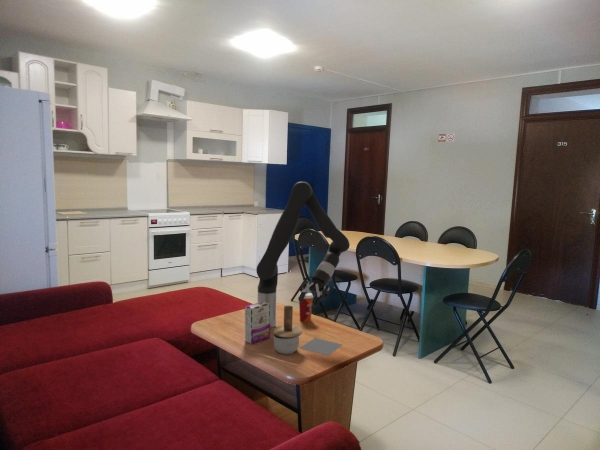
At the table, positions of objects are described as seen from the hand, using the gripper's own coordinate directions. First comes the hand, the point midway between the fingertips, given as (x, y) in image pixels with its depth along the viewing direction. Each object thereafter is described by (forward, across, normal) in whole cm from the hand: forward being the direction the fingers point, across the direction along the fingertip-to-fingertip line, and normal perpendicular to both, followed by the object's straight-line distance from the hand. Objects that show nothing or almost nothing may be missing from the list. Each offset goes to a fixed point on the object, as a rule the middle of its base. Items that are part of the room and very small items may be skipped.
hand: (306, 303), depth 178 cm
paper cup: (-2, -20, +30) cm, 35 cm away
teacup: (+22, +1, +4) cm, 22 cm away
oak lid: (+16, +1, -2) cm, 16 cm away
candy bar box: (+23, -17, +3) cm, 29 cm away
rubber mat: (+12, +9, +12) cm, 20 cm away
